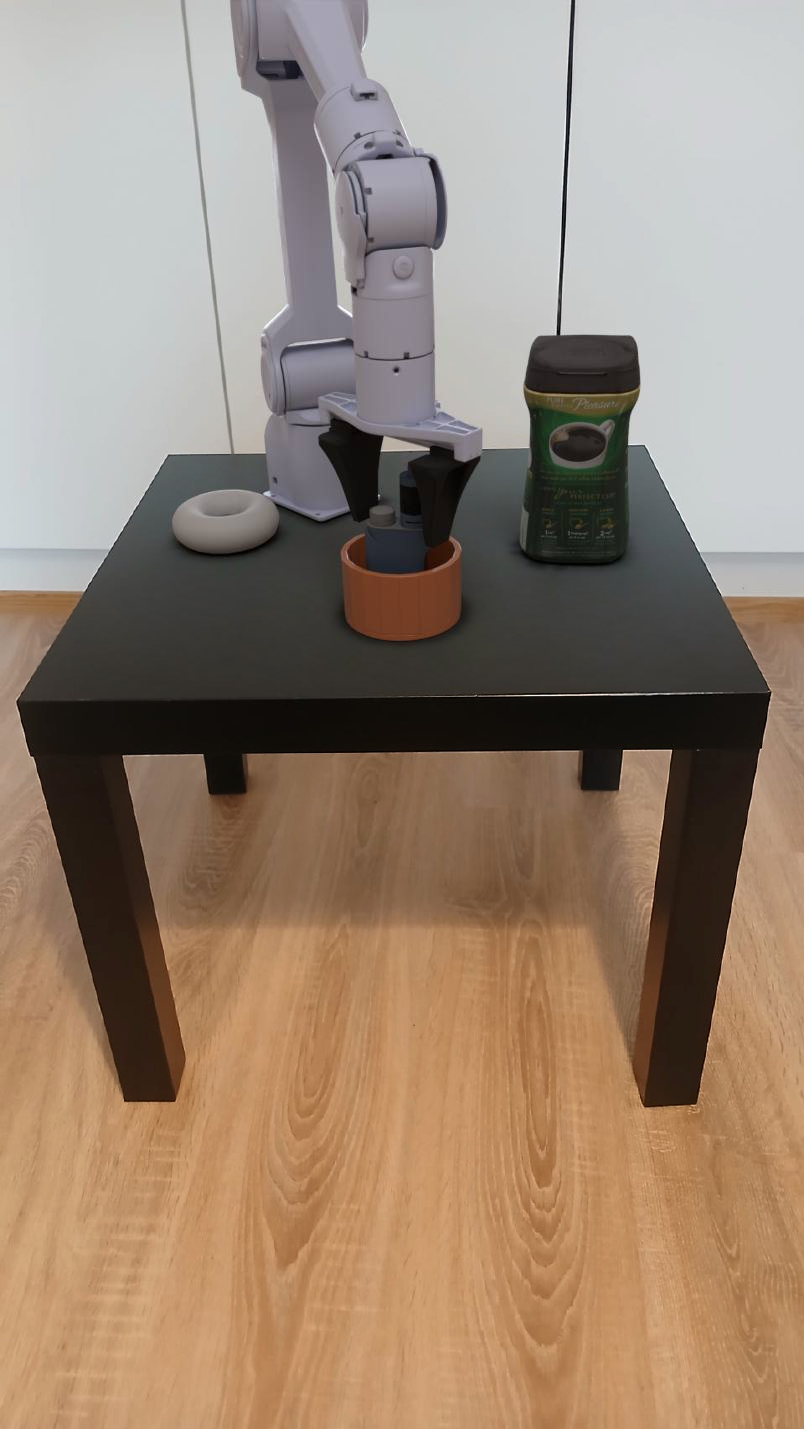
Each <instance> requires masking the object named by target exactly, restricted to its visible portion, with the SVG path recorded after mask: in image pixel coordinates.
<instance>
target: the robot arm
mask: <svg viewBox="0 0 804 1429" xmlns="http://www.w3.org/2000/svg"><path fill="white" fill-rule="evenodd" d="M229 5H230V6H229V7H230V22H231V29H232V38H233V47H234V56H235V66H236V72H237V76H238V77H239V78H240V79H239V80H240V86H241V89H242V90H243V91H244V92H247V93H249V94H251V95H253V96H255V97H256V98H259V99H260V100H261V104H262V106H263V110H264V113H265V117H266V118H265V119H266V122H267V126H268V133H269V142H270V143H269V144H270V152H271V153H270V154H271V163H272V170H273V171H272V173H273V182H274V191H275V193H274V194H275V201H276V211H277V213H276V214H277V222H278V231H279V241H280V251H281V261H282V272H283V280H284V290H285V302H286V304H285V305H284V307H283V308H282V309H281V310H280V311H278V313H277V314H276V315H275V316H274V317H273V318H272V319H271V320H269V322H268V323H267V324H266V325H265V326H264V327H263V329H262V331H261V334H260V337H259V341H260V378H261V383H262V391H263V394H264V398H265V402H266V403H265V404H266V406H267V408H268V410H269V411H270V412H271V414H270V416H269V417H268V420H267V422H266V425H265V428H264V435H263V437H264V448H265V450H264V451H265V460H266V468H267V477H268V488H269V490H268V491H265V492H263V493H262V495H264V496H265V497H267V498H268V499H270V500H271V501H272V502H273V503H274V504H277V505H279V506H282V507H284V508H286V509H289V510H290V511H293V512H296V513H298V514H300V515H303V516H305V517H308V518H309V519H312V520H315V521H317V522H325V521H328V520H330V519H332V518H335V517H338V516H340V515H344V514H347V513H349V512H350V515H351V519H352V521H353V522H356V523H358V524H359V523H361V522H363V521H366V520H369V519H370V508H372V507H374V506H378V505H379V501H381V495H380V494H379V469H380V468H379V467H380V459H381V452H382V448H383V447H382V446H383V442H384V438H385V437H386V438H391V439H394V440H398V441H401V442H405V443H409V444H412V445H415V446H419V447H423V448H427V449H429V453H426V454H424V455H421V456H418V457H416V458H414V459H411V460H409V461H408V462H409V467H410V469H411V472H412V474H413V477H414V479H415V482H416V486H417V489H418V493H419V498H420V503H421V511H422V529H423V537H424V542H425V545H426V546H428V547H430V548H434V547H436V546H438V545H440V544H442V543H444V542H446V541H448V540H449V538H450V536H451V533H452V529H453V526H454V520H455V517H456V514H457V510H458V507H459V504H460V501H461V498H462V495H463V493H464V491H465V489H466V487H467V485H468V483H469V480H470V479H471V477H472V475H473V474H474V471H475V470H476V468H477V466H478V465H479V463H480V462H481V457H482V455H483V428H482V427H479V426H475V425H472V424H470V423H467V422H465V421H463V420H461V419H460V418H457V417H456V416H453V415H452V414H450V413H448V412H446V411H445V410H443V409H441V401H440V400H437V399H436V335H435V334H436V333H435V330H436V328H435V321H436V320H435V318H436V317H435V253H434V252H433V250H434V251H438V250H439V249H440V248H442V246H443V243H444V240H445V239H446V238H445V237H446V233H447V227H448V216H449V214H448V213H449V212H448V210H449V209H448V208H449V207H448V206H449V205H448V194H447V186H446V180H445V176H444V173H443V170H442V167H441V164H440V161H439V159H438V157H437V155H436V154H434V153H433V152H425V150H424V148H422V147H417V148H415V147H414V146H412V143H411V140H410V138H409V136H408V134H407V131H406V128H405V127H404V125H403V122H402V120H401V117H400V115H399V112H398V110H397V107H396V106H395V103H394V101H393V99H392V97H391V94H390V93H389V91H388V90H387V89H386V87H384V86H383V85H382V84H381V83H380V82H378V81H376V80H374V79H371V78H368V76H367V73H366V69H365V65H364V61H363V57H362V53H363V51H364V50H365V47H366V45H367V40H368V35H369V22H370V21H369V20H370V19H369V15H370V14H369V0H229ZM328 171H329V173H330V176H331V179H332V182H333V184H334V212H335V220H336V227H337V233H338V237H339V242H340V246H341V247H340V248H341V253H342V264H343V265H342V268H343V269H342V270H343V273H344V279H345V281H346V282H348V283H349V286H350V298H351V301H350V302H351V312H349V311H348V310H346V309H345V308H343V307H342V306H340V305H339V304H338V302H339V301H338V291H337V289H338V288H337V279H336V267H335V266H336V265H335V264H336V263H335V253H334V241H333V227H332V215H331V205H330V204H331V202H330V190H329V177H328ZM332 339H333V340H332ZM334 339H335V340H334ZM305 342H306V343H305ZM307 342H308V343H307ZM296 343H298V344H296Z"/></svg>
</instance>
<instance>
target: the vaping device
mask: <svg viewBox="0 0 804 1429" xmlns="http://www.w3.org/2000/svg"><path fill="white" fill-rule="evenodd" d="M398 477H399V481H398V482H399V483H398V484H399V516H396V508H395V507H394V506H392V505H387V504H380V505H379V504H378V506H374V507H372V508H370V518H368V519H367V521H366V523H367V524H366V527H365V531H364V533H365V549H366V570H368V571H372V572H377V573H382V574H411V573H419V572H423V571H428V550H429V548H430V547H428V546H426V545H425V542H424V537H423V529H422V511H421V503H420V498H419V493H418V489H417V486H416V482H415V479H414V477H413V474H412V472H411V469H410V467H409V461H408V462H407V469H406V470H403V471H401V472H400V473H399V475H398Z"/></svg>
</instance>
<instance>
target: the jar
mask: <svg viewBox="0 0 804 1429" xmlns="http://www.w3.org/2000/svg"><path fill="white" fill-rule="evenodd" d="M462 553H463V552H462V547H461V545H460V542H459V541H458V540H456V539H455V538H453V536H451V535H450V538H449V540H448V541H446V542H444V543H442V544H440V545H438V546H436V547H434V548H429V550H428V571H423V572H419V573H411V574H382V573H377V572H372V571H368V570H366V549H365V532H363V533H360V534H358V535H355V536H354V537H352V538H351V539H349V540H348V541H347V542H345V543H344V544H343V546H342V548H341V550H340V566H341V580H342V581H341V582H342V595H343V609H344V617H345V621H346V622H347V624H348V626H350V628H352V629H353V630H354V631H356V632H357V633H359V634H362V635H364V636H366V637H369V638H372V639H377V640H383V641H393V642H407V641H417V640H424V639H428V638H432V637H434V636H438V635H440V634H443V633H445V632H446V631H448V630H450V629H452V628H453V627H454V626H455V625H456V624H457V623H458V621H459V620H460V617H461V614H462V606H463V605H462V602H463V601H462V599H463V597H462V590H463V587H462V584H463V583H462V582H463V580H462V578H463V576H462V574H463V573H462V571H463V570H462V568H463V566H462V564H463V562H462V560H463V559H462V558H463V554H462Z"/></svg>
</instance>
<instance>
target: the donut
mask: <svg viewBox="0 0 804 1429" xmlns="http://www.w3.org/2000/svg"><path fill="white" fill-rule="evenodd" d="M280 518H281V516H280V512H279V510H278V508H277V506H276V503H274V502H272V501H271V500H270V499H268V498H267V497H265V496H264V495H263V493H258V492H256V491H252V490H245V489H220V490H212V491H209V492H203V493H201V494H198V495H196V496H193V497H191V498H189V499H186V500H185V501H184V502H183V503H181V504H180V505H179V506H178V507H177V508H176V510H175V511H174V514H173V516H172V518H171V527H172V532H173V534H174V537H175V538H176V539H177V541H178V542H180V543H181V544H182V545H184V546H185V547H186V548H188V549H191V550H193V551H196V552H198V553H205V554H215V555H218V554H221V555H222V554H223V555H225V554H233V553H234V554H235V553H241V552H244V551H248V550H250V549H254V548H257V547H259V546H261V545H262V544H266V542H267V541H269V540H270V539H271V538H272V537H273V536H275V534H276V532H277V530H278V527H279V525H280V520H281V519H280Z"/></svg>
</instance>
